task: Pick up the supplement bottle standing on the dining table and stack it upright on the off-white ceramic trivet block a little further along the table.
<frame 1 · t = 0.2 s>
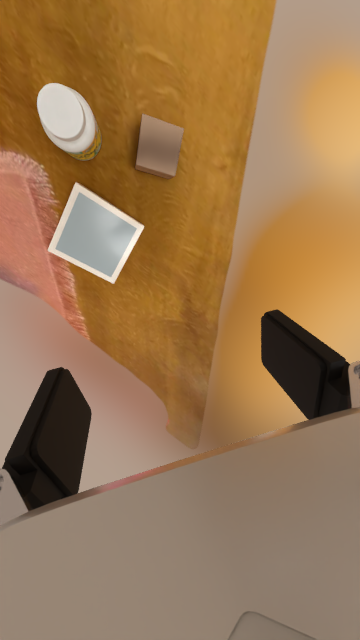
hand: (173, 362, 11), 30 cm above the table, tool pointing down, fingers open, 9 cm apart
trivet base: (99, 235, 35), on the table
supplement bottle: (80, 136, 30), on the table
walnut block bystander: (155, 154, 32), on the table
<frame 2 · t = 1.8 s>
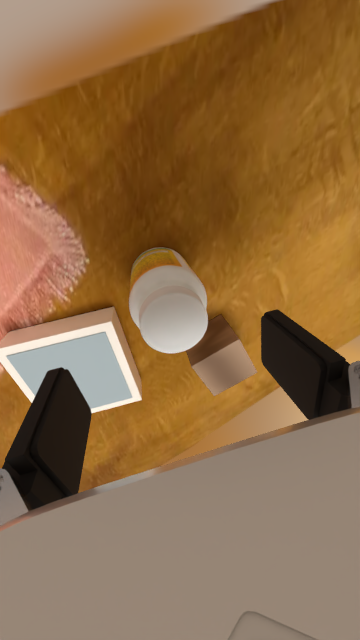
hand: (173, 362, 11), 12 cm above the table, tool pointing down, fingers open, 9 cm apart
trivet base: (82, 358, 24), on the table
supplement bottle: (159, 274, 21), on the table
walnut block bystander: (210, 340, 26), on the table
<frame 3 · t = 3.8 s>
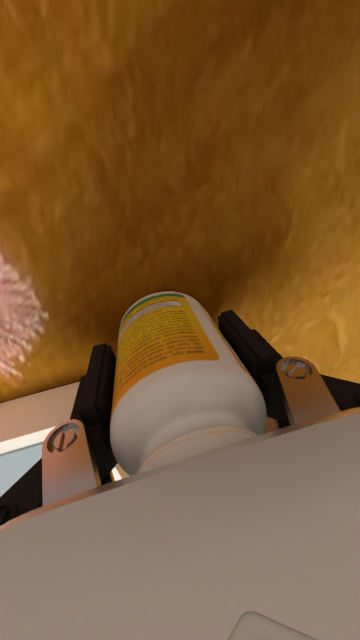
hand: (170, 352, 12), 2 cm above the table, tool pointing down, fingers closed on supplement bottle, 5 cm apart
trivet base: (49, 447, 16), on the table
supplement bottle: (164, 328, 14), on the table, touching gripper
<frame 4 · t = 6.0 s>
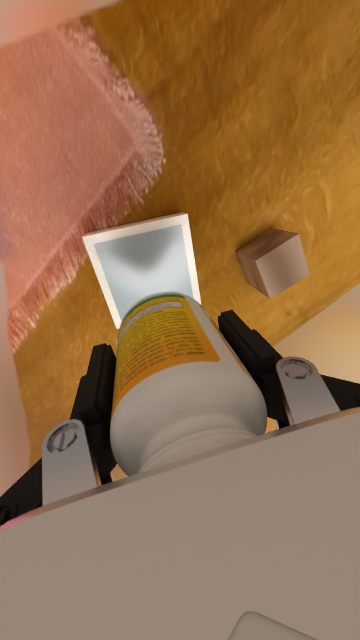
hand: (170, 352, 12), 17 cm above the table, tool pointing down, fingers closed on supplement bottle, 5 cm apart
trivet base: (147, 268, 26), on the table
supplement bottle: (164, 329, 14), point 14 cm above the table, touching gripper
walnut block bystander: (259, 257, 28), on the table
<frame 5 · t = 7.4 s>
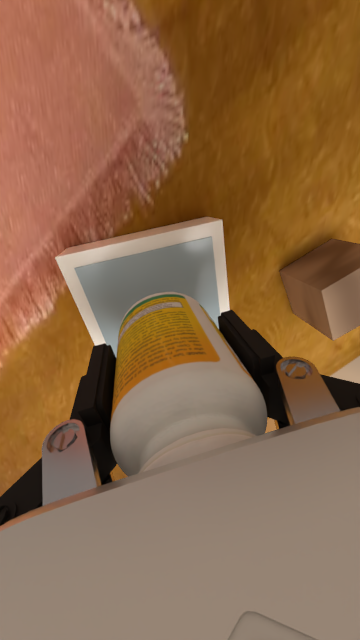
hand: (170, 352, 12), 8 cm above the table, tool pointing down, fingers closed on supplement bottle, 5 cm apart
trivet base: (155, 296, 18), on the table
supplement bottle: (164, 329, 14), point 5 cm above the table, touching gripper
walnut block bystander: (310, 278, 21), on the table
when the fingers open (6 cm above the table, at t = 8.6 s): supplement bottle stays where it is, resting on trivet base.
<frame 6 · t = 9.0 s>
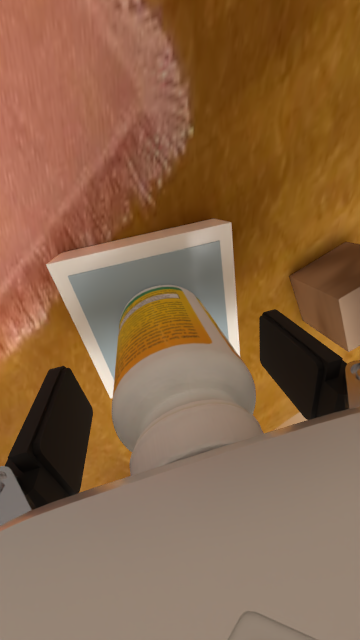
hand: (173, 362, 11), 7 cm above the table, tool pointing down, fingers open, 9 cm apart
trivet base: (157, 304, 17), on the table
supplement bottle: (162, 321, 14), point 3 cm above the table, touching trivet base
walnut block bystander: (322, 283, 19), on the table
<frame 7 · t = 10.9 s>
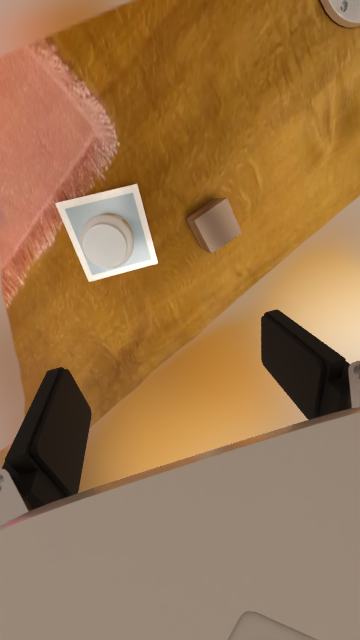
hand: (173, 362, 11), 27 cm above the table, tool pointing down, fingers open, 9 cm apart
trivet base: (112, 233, 32), on the table
supplement bottle: (111, 235, 30), point 3 cm above the table, touching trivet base
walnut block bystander: (207, 224, 35), on the table
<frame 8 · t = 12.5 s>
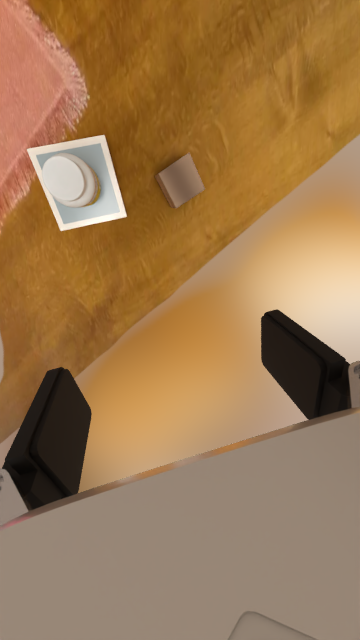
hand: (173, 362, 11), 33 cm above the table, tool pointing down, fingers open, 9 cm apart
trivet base: (84, 187, 34), on the table
supplement bottle: (81, 185, 32), point 3 cm above the table, touching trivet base
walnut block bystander: (176, 183, 37), on the table
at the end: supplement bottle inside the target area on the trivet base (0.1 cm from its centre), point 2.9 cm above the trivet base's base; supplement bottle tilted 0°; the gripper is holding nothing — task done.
